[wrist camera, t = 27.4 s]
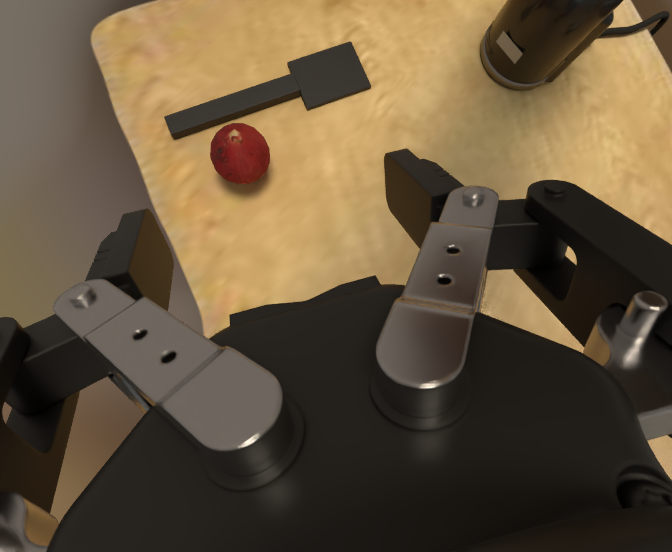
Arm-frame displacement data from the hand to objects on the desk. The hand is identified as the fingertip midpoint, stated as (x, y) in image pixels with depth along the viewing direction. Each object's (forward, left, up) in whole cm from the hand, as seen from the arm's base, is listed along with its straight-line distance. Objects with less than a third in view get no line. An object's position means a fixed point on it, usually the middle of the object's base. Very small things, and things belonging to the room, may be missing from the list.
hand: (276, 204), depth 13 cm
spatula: (+5, -21, -29) cm, 36 cm away
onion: (+7, -13, -29) cm, 32 cm away
